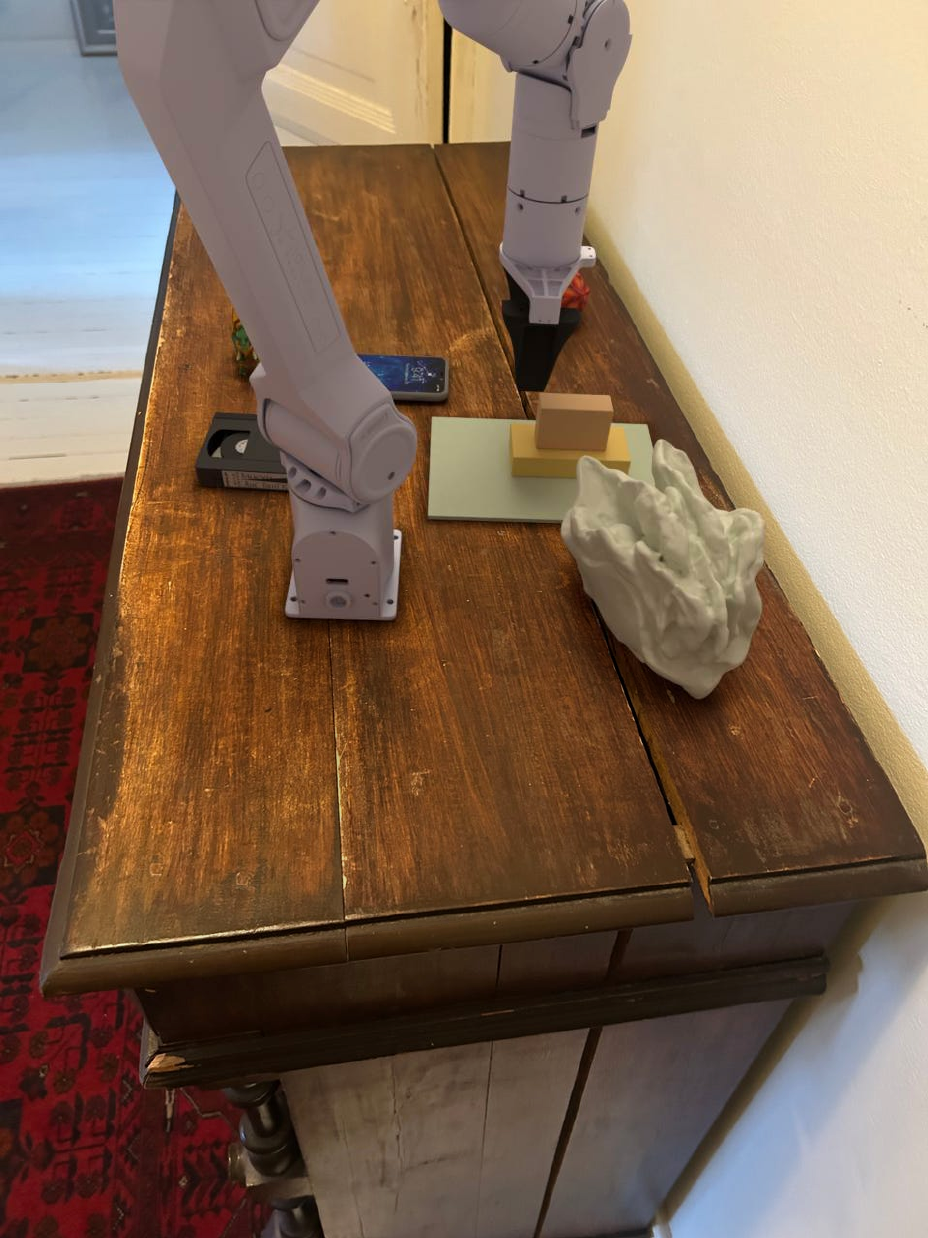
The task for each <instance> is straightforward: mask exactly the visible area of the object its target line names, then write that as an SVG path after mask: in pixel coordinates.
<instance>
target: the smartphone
mask: <svg viewBox="0 0 928 1238" xmlns="http://www.w3.org/2000/svg"><path fill="white" fill-rule="evenodd" d="M356 354H357V356H358V357H359V358H360V359H361V360H362V362H363V363H364V364H365V365H366V366H367V367H368V368H369V369H370V370H371V371H372V373H373V374H374V375H375V376H376V377H377V378H378V379H379V380H380V381H381V383H382V384H383V385H384V386H385V387H386V388H387V389H388V391H389V392H390V393H391V396H392V399H393V401H411V402H412V401H413V402H443V401H445V400H446V399H447V398H448V397H449V392H450V391H449V389H450V388H449V387H450V362H449V361H448V359H446V358H445V357H442V356H424V355H403V354H401V355H399V354H377V353H375V354H373V353H356Z"/></svg>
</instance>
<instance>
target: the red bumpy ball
mask: <svg viewBox="0 0 928 1238" xmlns="http://www.w3.org/2000/svg"><path fill="white" fill-rule="evenodd" d="M590 292H591V290H590V288H589V286H588V285H587V283H586V282H585V280H584V278H583V276H582V275H581V274H580V273H579V271H578V272H577V273H576V275H575V276H574V278H573V280H572V281H571V283H570V284H569V286H568V288H567V289H566V291H565V292H564V294H563V296H562V300H561V307H562V308H579V310H580V314H581V313H583V312H584V311H585V308H586V305H587V303H588V299H589V295H590Z"/></svg>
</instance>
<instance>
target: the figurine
mask: <svg viewBox="0 0 928 1238" xmlns="http://www.w3.org/2000/svg"><path fill="white" fill-rule="evenodd" d="M231 309H232V310H231V317H230V319H229V331H230V337H231V341H232V343H233V347H234V350H235V352H236V360H237V361H238V363H239V367H240V370H239V371H238V374H239V375H243V376H246V367H245V366H246V363H245V359H247V357H249V356H250V355H251V356H252V358H253V359H254V366H255V368H256V367H257V366H258V364H259V363H260V360H259V358H258V356H257V354H256V352H255V350H254V348H253V346H252V344H251V342H250V340H249V338H248V336H247V334H246V331H245V329H244V327H243V325H242V323H241V321H240V319H239V317H238V315H237V313H236V311H235V309H234V307H233V306H232V308H231Z"/></svg>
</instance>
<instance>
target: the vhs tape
mask: <svg viewBox="0 0 928 1238" xmlns="http://www.w3.org/2000/svg"><path fill="white" fill-rule="evenodd" d="M194 469H195V473H196V478H197V483H198V485H199V486H201V487H205V488H206V487H207V488H223V489H225V488H226V489H242V490H258V491H275V492H289V487H288V480H287V472H286V468H285V467H284V466H283V465H282V464H281V456H280V448H277V447H275V446H273V445H272V444H270V443H269V442H268V441H267V440H266V439H265V438H264V437H263V435H262V434H261V432H260V429H259V426H258V419H257V413H243V412H226V411H215V412H214V414H213V417H212V420H211V425H209V428H208V431H207V432H206V435H205V436H204V440H203V442H202V445H201V448H200V450H199V452H198V455H197V457H196V460H195V462H194Z"/></svg>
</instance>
